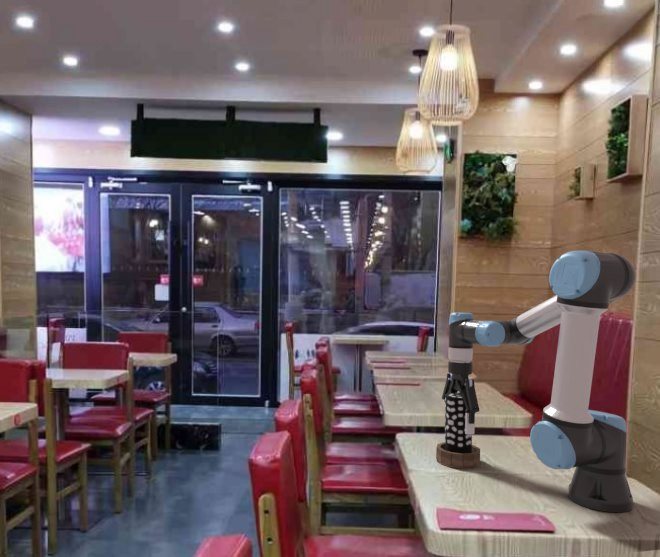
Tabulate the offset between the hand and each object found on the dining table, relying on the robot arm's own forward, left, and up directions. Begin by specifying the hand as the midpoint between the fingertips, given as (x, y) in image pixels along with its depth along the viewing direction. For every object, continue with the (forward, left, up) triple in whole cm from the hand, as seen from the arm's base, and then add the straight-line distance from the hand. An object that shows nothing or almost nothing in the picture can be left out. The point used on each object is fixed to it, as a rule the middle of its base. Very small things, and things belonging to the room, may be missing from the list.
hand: (459, 428), depth 170 cm
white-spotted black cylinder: (0, 0, -10) cm, 10 cm away
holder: (0, 0, -10) cm, 11 cm away
